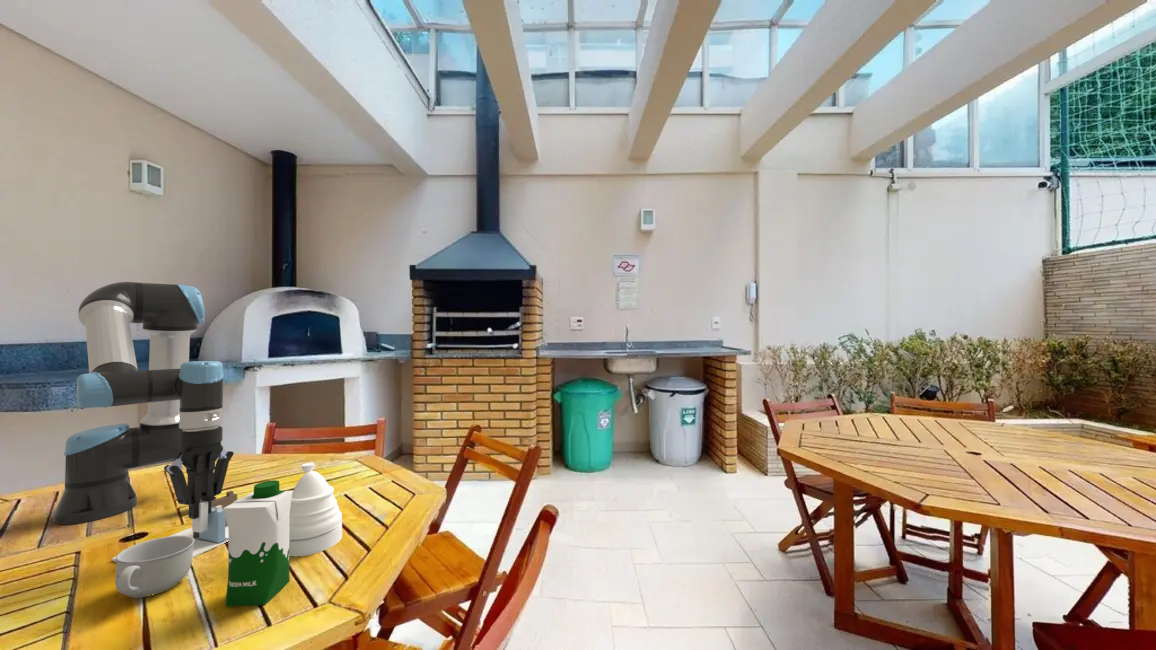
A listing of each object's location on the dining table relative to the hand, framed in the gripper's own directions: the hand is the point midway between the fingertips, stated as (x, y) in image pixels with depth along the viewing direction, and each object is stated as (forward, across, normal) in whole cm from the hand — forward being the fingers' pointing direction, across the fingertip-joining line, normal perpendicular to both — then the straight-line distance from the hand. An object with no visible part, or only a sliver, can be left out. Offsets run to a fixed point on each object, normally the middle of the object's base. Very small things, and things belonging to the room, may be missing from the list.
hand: (200, 530), depth 96 cm
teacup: (+4, -14, -10) cm, 18 cm away
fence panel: (+3, +3, 0) cm, 4 cm away
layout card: (+4, +2, +4) cm, 6 cm away
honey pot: (+4, +9, -23) cm, 25 cm away
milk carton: (+4, -9, -30) cm, 32 cm away
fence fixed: (+3, +7, +5) cm, 9 cm away
